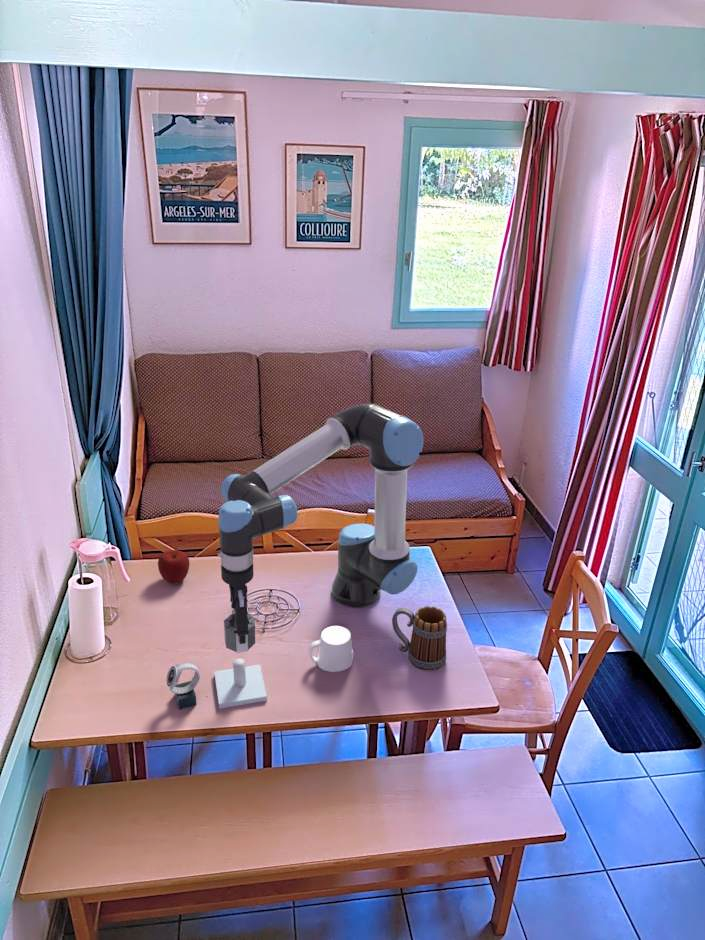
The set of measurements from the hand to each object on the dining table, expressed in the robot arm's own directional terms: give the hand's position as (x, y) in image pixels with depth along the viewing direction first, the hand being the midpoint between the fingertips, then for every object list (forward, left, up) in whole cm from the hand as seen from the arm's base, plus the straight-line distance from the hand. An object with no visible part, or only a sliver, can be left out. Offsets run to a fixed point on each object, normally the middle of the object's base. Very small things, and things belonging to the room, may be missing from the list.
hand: (240, 640), depth 181 cm
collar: (0, 0, 0) cm, 0 cm away
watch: (+15, +1, -16) cm, 22 cm away
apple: (+15, -52, -16) cm, 56 cm away
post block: (+1, 0, -16) cm, 16 cm away
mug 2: (-48, -1, -16) cm, 51 cm away
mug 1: (-24, -4, -16) cm, 29 cm away
